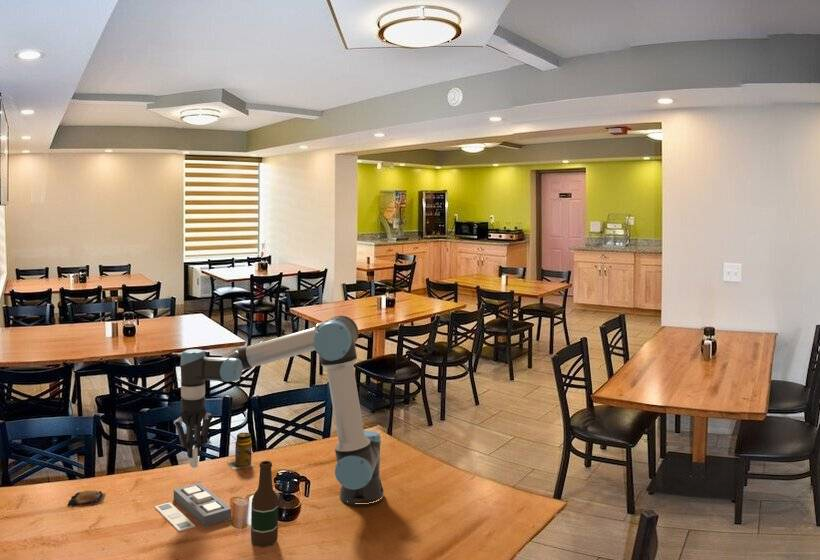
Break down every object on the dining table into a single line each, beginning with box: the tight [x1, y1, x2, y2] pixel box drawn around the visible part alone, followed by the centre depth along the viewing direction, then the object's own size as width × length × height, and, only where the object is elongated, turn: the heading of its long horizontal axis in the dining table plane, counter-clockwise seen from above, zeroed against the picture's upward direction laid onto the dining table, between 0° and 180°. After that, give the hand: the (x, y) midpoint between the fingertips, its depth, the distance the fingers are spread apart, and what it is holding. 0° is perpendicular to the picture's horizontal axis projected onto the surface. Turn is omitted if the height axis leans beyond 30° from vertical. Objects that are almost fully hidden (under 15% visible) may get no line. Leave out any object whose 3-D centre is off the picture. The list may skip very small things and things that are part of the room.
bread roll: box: [67, 489, 106, 507], centre depth 206 cm, size 11×8×4 cm
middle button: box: [192, 491, 211, 504], centre depth 203 cm, size 4×4×2 cm
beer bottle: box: [250, 460, 279, 548], centre depth 184 cm, size 8×8×24 cm
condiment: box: [227, 432, 256, 470], centre depth 240 cm, size 7×8×12 cm
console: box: [173, 482, 233, 528], centre depth 203 cm, size 24×9×4 cm, turn 42°
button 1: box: [183, 486, 202, 496], centre depth 209 cm, size 4×4×2 cm
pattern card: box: [154, 502, 196, 533], centre depth 197 cm, size 20×5×1 cm, turn 42°
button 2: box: [202, 502, 222, 513], centre depth 198 cm, size 4×4×2 cm
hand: (193, 466), depth 208 cm, fingers closed
